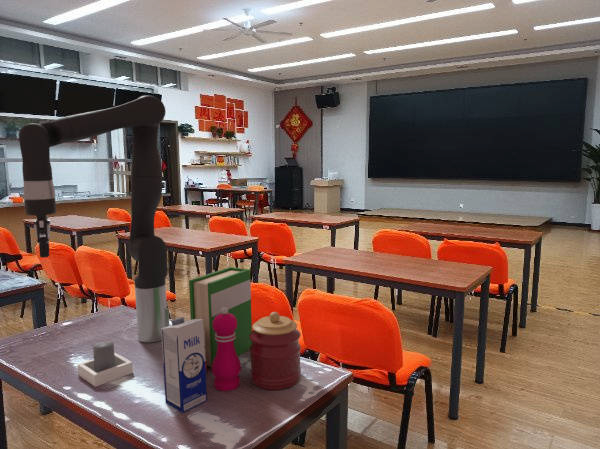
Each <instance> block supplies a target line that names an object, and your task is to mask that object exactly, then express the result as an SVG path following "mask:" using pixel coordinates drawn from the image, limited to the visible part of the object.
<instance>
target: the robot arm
mask: <svg viewBox="0 0 600 449" xmlns="http://www.w3.org/2000/svg"><path fill="white" fill-rule="evenodd" d="M165 117H166V107H165V104H164V103H163V102H162V100H161V99H159V97H156V96H154V95H147V94H146V95H141V96H139V97H138V98H137V99H134V100H132V101H128V102H126V103H123V104H120V105H116V106H114V107H109V108H105V109H99V110H93V111H87V112H83V113H77V114H72V115H67V116H63V117H60V118H57V119H55V120H52V121H51V120H50V121H47V122H41V123H36V122H35V123H34V122H30V123H26V124H24V125H23V126H22V127H21V128H20V129H19V132H18V140H19V148H20V155H21V160H22V166H21V167H22V169H21V170H22V179H23V187H22V189H23V201H24V202H23V203H24V211H25V215H26V216H31V217H33V216H35V217H36V220H34V221H33V228H34V232H35V233H34V234H35V237H36V241H37V242H36V243H38V249H39V257H40V258H41V259H42V258H43V259H44V258H48V257H49V256H50V236H51V220H50V219H49V218H48V216H47V215H49V216H50V215H54V214H56V213H57V202H56V191H55V185H54V181H53V180H54V179H53V168H52V164H51V158H50V154H51V152H50V151H51V150H50V148H51V147H54V146H58V145H61V144H65V143H66V144H67V143H73V142H79V141H82V140H86V139H90V138H93V137H98V136H101V135H104V134H106V133H109V132H112V131H113V132H114V131H117V130H121V129H125V128H130V127H131V134H132V153H131V165H130V166H131V168H130V194H131V195H130V199H131V201H130V204H131V206H130V207H131V208H130V209H131V210H130V211H131V216H130V219H131V221H130V223H131V224H130V232H129V240H128V252H129V254H130V257H131V258H132V259H133V260H134V261H136V262H137V263H138V274H137V275H136V276H135V277H134V294H135V295H134V297H135V310H136V324H137V326H136V327H137V339H138V341H139V342H142V343H157V342H162V332H161V328H165V327H168V326H170V315H169V314H170V312H169V308H168V304H167V288H166V287H167V286H166V279H167V276H168V248H167V245H166V242H165V240H163V238H161V237H160V236H156V235H155V216H156V212H157V209H158V207H159V204H160V202H161V198H162V194H163V169H162V162H161V157H160V153H159V147H158V135H159V125H160V124H161V123H162V122H163V121H164V119H165Z"/></svg>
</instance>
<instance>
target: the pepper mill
mask: <svg viewBox="0 0 600 449" xmlns="http://www.w3.org/2000/svg"><path fill="white" fill-rule="evenodd" d="M236 328H237V320H236V318H235V316H234V315H232V314H230V313H228V309H227V308H225V307H224V308H222V309H221V314H219V315H217V316H216V317H215V318H214V320H213V330H214V331H215V332H216V333H215V340H216V341H217V354H216V356H215V359H214V361H213V364H212V371H211V373H212V375H213V376H214V380H213V381H214V383H213V384H214V389H216V390H218V391H220V392H221V391H222V392H229V391H234V390H236V389H237V388H239V386H240V383H241V381H240V380H241V379H240V373H241V371H242V364H241V361H240V360H241V359H240V357H239V356H237V354H236V351H235V348H234V339H235V338H236V336H235V334H236V333H235V332H234V331H235V329H236Z"/></svg>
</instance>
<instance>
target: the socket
mask: <svg viewBox="0 0 600 449" xmlns="http://www.w3.org/2000/svg"><path fill="white" fill-rule="evenodd" d="M114 357H115V367H112V368H109V369H106V370H104V371H101V372H98V373H96V372H95V368H94V358H93V359H90V360H85V361H84V362H80V363H77V373H78V376H79V377H80V378H82V379H83V380H85V381H86V382H88V383H89V384H90V385H92V386H93V387H95V388H96V387H99V386H101V385H104V384H106V383H110V382H112V381H115V380H119V379H120V378H123V377H126V376H129V375H131V374H133V372H134V370H133V367H134V366H133V361H131V360H129V359H127V358H126V357H124V356H122V355H120V354H118V353H116V352H115V351H114Z"/></svg>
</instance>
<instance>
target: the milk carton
mask: <svg viewBox="0 0 600 449" xmlns="http://www.w3.org/2000/svg"><path fill="white" fill-rule="evenodd" d="M203 320H204V319H193V320H191V319H188V320H186V319H184V317H179V318H175V319H172V320H171V321H170V322H171V325H169V326H168V327H165V328H161V332H162V340H161V347H162V348H161V350H162V362H163V363H162V364H163V367H162V368H163V378H164V380H163V381H164V382H163V383H164V397H165V399H164V400H165V401H164V402H165V404H166V405H168V406H170V407H171V408H174V409H175V410H176V411H179V412H180V413H182V414H184V413H185V412H188V411H189V410H191V409H193V408H195V407H197V406H199V405H201V404H203V403H205V402H208V398H207V396H208V395H207V394H208V393H207V376H206V375H207V373H206V372H207V371H206V369H205V347H204V324H203Z"/></svg>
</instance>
